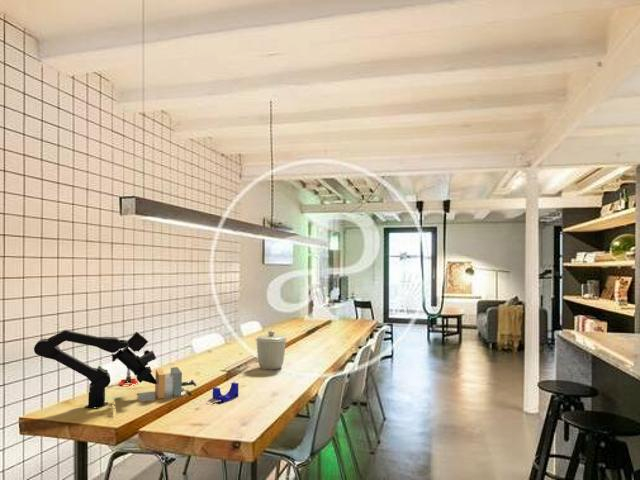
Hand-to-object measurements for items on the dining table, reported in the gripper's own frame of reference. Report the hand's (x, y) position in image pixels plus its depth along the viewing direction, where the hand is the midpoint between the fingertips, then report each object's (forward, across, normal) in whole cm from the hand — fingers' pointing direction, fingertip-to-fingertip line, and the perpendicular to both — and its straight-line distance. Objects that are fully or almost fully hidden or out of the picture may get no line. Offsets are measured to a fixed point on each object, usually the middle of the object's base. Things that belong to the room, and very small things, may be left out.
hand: (156, 383), depth 194 cm
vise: (+7, 0, +2) cm, 8 cm away
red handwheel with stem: (-2, +32, +12) cm, 34 cm away
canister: (+51, +34, -42) cm, 74 cm away
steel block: (+7, 0, 0) cm, 7 cm away
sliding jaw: (+5, 0, +3) cm, 5 cm away
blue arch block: (+24, -14, -15) cm, 32 cm away
